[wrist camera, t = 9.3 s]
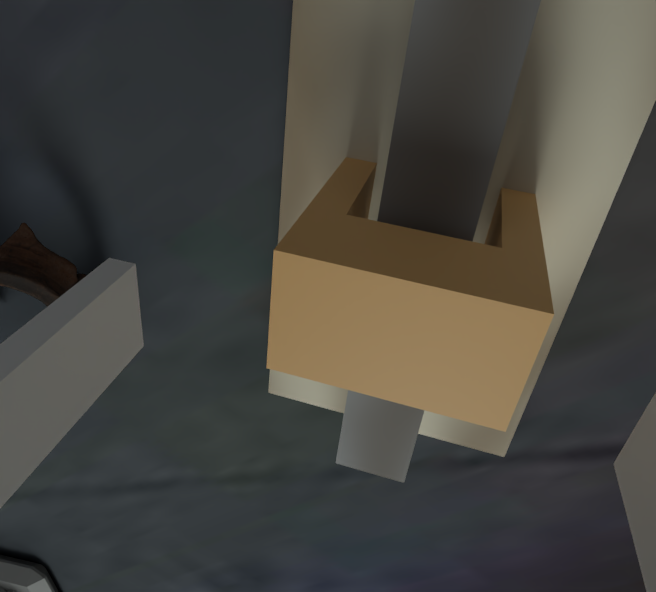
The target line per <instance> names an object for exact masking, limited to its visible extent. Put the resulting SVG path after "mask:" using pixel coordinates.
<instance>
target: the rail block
mask: <svg viewBox="0 0 656 592" xmlns="http://www.w3.org/2000/svg"><path fill="white" fill-rule="evenodd" d="M655 100H656V0H293V12H292V28H291V44H290V60H289V76H288V92H287V108H286V124H285V139H284V155H283V171H282V187H281V203H280V219H279V235H278V244H279V243H280V241H281V240H282V239H283V237H284V236H285V235H286V234H287V232H288V231H289V230H290V228H291V227H292V226H293V225H294V223H295V222H296V221H297V219H298V218H299V217H300V216H301V214H302V213H303V212H304V210H305V209H306V208H307V207H308V205H309V204H310V203H311V201H312V200H313V199H314V198H315V196H316V195H317V194H318V192H319V191H320V190H321V189H322V187H323V186H324V185H325V183H326V182H327V181H328V180H329V178H330V177H331V176H332V174H333V173H334V172H335V171H336V169H337V168H338V167H339V165H340V164H341V163H342V162H343V160H344V159H345V158H346V157H349V158H354V159H359V160H364V161H369V162H374V163H377V166H376V173H375V179H374V185H373V191H372V197H371V203H370V209H369V215H368V219H369V220H374V221H379V222H383V223H388V224H393V225H397V226H402V227H407V228H411V229H416V230H421V231H425V232H430V233H435V234H439V235H444V236H449V237H453V238H458V239H463V240H467V241H472V242H477V243H481V244H485V240H486V237H487V234H488V231H489V227H490V224H491V221H492V217H493V214H494V211H495V207H496V204H497V201H498V197H499V194H500V191H501V188H506V189H511V190H516V191H522V192H527V193H532V194H536V201H537V207H538V214H539V220H540V226H541V233H542V239H543V246H544V252H545V258H546V265H547V271H548V278H549V284H550V290H551V297H552V303H553V310H554V316H553V319H552V321H551V323H550V326H549V328H548V331H547V333H546V335H545V338H544V340H543V343H542V345H541V348H540V350H539V352H538V355H537V357H536V360H535V362H534V364H533V367H532V369H531V372H530V374H529V376H528V379H527V381H526V384H525V386H524V389H523V391H522V393H521V396H520V398H519V401H518V403H517V405H516V408H515V410H514V413H513V415H512V417H511V420H510V422H509V425H508V427H507V430H506V432H504V431H500V430H496V429H492V428H489V427H485V426H481V425H477V424H474V423H470V422H466V421H462V420H459V419H455V418H451V417H448V416H444V415H440V414H436V413H433V412H429V411H425V410H421V409H418V408H414V407H410V406H406V405H403V404H399V403H395V402H391V401H388V400H384V399H380V398H376V397H373V396H369V395H365V394H361V393H358V392H354V391H350V390H347V389H343V388H339V387H335V386H332V385H328V384H324V383H320V382H317V381H313V380H309V379H305V378H302V377H298V376H294V375H290V374H287V373H283V372H279V371H275V370H272V369H270V378H269V393H272V394H275V395H279V396H283V397H286V398H290V399H294V400H297V401H301V402H305V403H308V404H312V405H316V406H319V407H323V408H327V409H330V410H334V411H338V412H341V413H344V417H343V423H342V429H341V435H340V440H339V446H338V452H337V458H336V463H337V464H340V465H344V466H347V467H351V468H354V469H358V470H361V471H365V472H368V473H371V474H375V475H378V476H382V477H385V478H389V479H392V480H396V481H399V482H403V483H404V481H405V477H406V474H407V470H408V467H409V463H410V460H411V456H412V453H413V449H414V446H415V442H416V439H417V435H418V434H422V435H426V436H429V437H433V438H437V439H440V440H444V441H448V442H451V443H455V444H459V445H462V446H466V447H469V448H473V449H477V450H480V451H484V452H488V453H491V454H495V455H499V456H502V457H504V456H505V454H506V452H507V449H508V447H509V445H510V442H511V440H512V438H513V435H514V433H515V430H516V428H517V426H518V423H519V421H520V419H521V416H522V414H523V412H524V409H525V407H526V404H527V402H528V400H529V397H530V395H531V393H532V390H533V388H534V386H535V383H536V381H537V379H538V376H539V374H540V371H541V369H542V367H543V364H544V362H545V360H546V357H547V355H548V353H549V350H550V348H551V346H552V343H553V341H554V338H555V336H556V334H557V331H558V329H559V327H560V324H561V322H562V320H563V317H564V315H565V313H566V310H567V308H568V305H569V303H570V301H571V298H572V296H573V294H574V291H575V289H576V287H577V284H578V282H579V280H580V277H581V275H582V272H583V270H584V268H585V265H586V263H587V261H588V258H589V256H590V254H591V251H592V249H593V247H594V244H595V242H596V239H597V237H598V235H599V232H600V230H601V228H602V225H603V223H604V221H605V218H606V216H607V214H608V211H609V209H610V206H611V204H612V202H613V199H614V197H615V195H616V192H617V190H618V188H619V185H620V183H621V181H622V178H623V176H624V173H625V171H626V169H627V166H628V164H629V162H630V159H631V157H632V155H633V152H634V150H635V148H636V145H637V143H638V140H639V138H640V136H641V133H642V131H643V129H644V126H645V124H646V122H647V119H648V117H649V115H650V112H651V110H652V107H653V105H654V103H655Z"/></svg>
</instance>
